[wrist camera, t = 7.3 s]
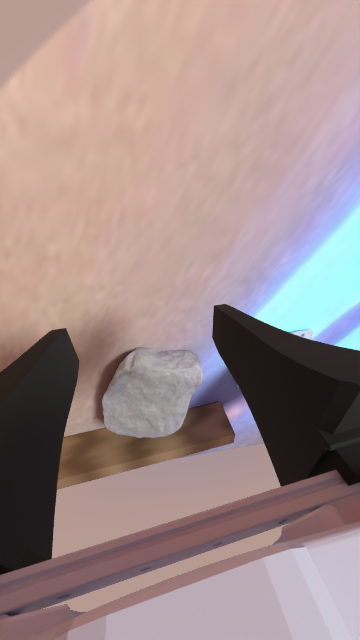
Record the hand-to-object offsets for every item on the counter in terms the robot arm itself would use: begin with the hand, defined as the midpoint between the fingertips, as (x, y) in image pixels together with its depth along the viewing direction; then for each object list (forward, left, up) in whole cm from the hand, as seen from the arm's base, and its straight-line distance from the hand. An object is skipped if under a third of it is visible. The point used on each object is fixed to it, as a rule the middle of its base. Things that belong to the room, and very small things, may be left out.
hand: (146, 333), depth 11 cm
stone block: (+1, +14, -10) cm, 17 cm away
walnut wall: (+3, +22, -9) cm, 24 cm away
